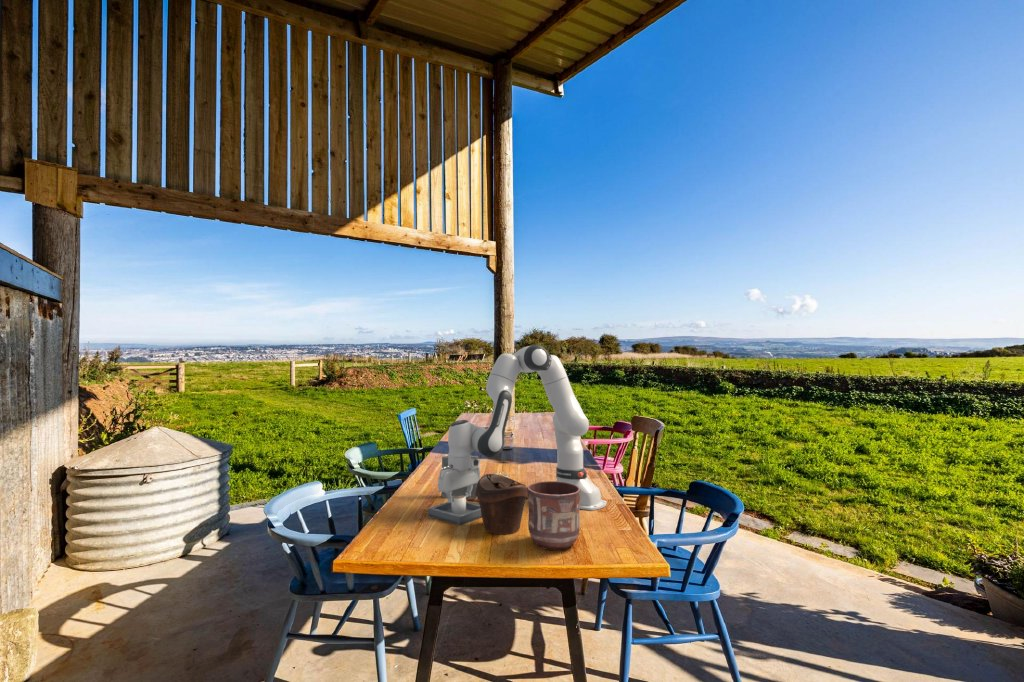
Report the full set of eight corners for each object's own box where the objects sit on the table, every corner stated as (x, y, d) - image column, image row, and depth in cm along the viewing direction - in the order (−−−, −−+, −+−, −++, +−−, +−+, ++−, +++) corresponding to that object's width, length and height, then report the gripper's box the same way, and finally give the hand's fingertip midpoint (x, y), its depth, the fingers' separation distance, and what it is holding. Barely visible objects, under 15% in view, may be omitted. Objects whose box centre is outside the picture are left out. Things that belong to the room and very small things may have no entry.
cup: (468, 512, 183) (469, 496, 183) (458, 516, 179) (459, 499, 179) (458, 509, 186) (458, 493, 187) (448, 513, 182) (448, 496, 182)
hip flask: (441, 498, 207) (441, 451, 208) (441, 495, 211) (442, 450, 212) (477, 497, 208) (478, 451, 209) (477, 495, 212) (478, 449, 213)
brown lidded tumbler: (526, 539, 157) (526, 484, 158) (468, 535, 161) (468, 481, 162) (534, 523, 174) (534, 473, 176) (481, 520, 178) (482, 471, 180)
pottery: (514, 543, 153) (515, 487, 154) (548, 530, 166) (549, 478, 167) (558, 559, 141) (559, 498, 142) (591, 543, 154) (591, 487, 155)
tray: (488, 514, 183) (488, 506, 184) (460, 525, 171) (460, 517, 171) (457, 506, 194) (457, 499, 194) (427, 516, 181) (427, 508, 181)
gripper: (446, 468, 173) (446, 507, 172) (482, 459, 189) (483, 494, 189) (434, 466, 177) (434, 504, 176) (471, 457, 193) (471, 492, 193)
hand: (459, 499), depth 183 cm, fingers open, 8 cm apart
